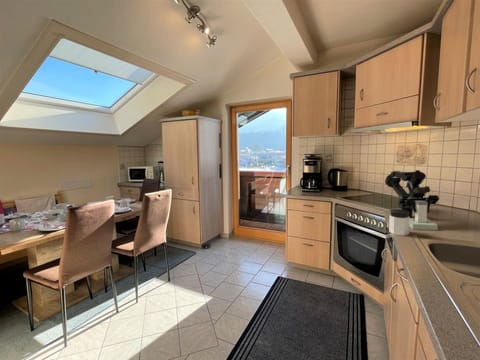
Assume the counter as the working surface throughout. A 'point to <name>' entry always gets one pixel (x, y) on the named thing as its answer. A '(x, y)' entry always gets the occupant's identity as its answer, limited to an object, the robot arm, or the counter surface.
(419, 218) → the plug
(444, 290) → the counter surface
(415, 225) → the socket
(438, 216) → the counter surface
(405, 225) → the jar
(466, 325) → the counter surface
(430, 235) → the counter surface
